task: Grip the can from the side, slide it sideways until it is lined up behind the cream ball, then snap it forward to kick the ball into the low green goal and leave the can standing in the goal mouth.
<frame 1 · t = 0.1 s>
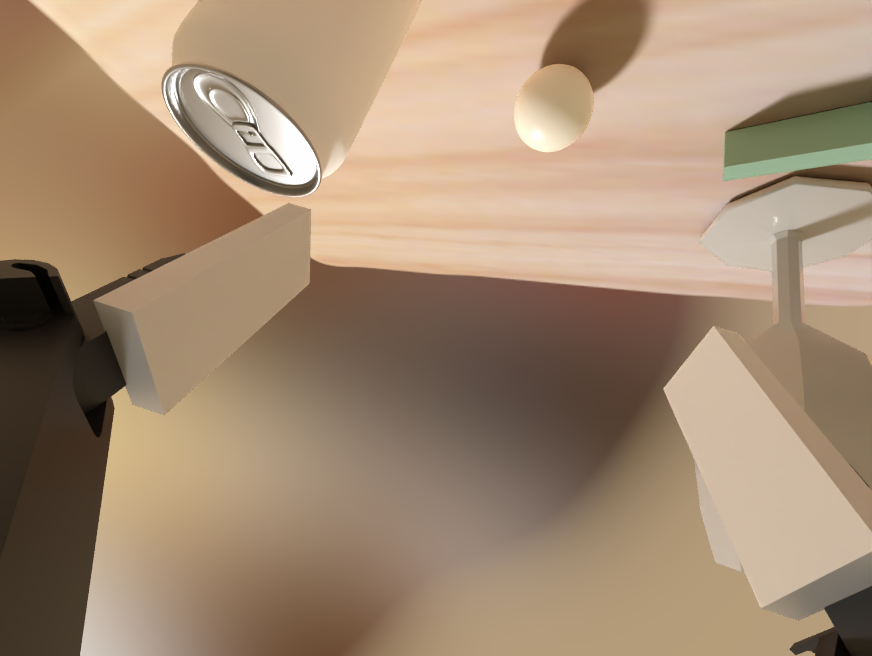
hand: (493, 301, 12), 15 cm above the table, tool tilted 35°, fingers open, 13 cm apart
wineglass: (785, 221, 24), on the table
ball: (552, 110, 20), point 2 cm above the table
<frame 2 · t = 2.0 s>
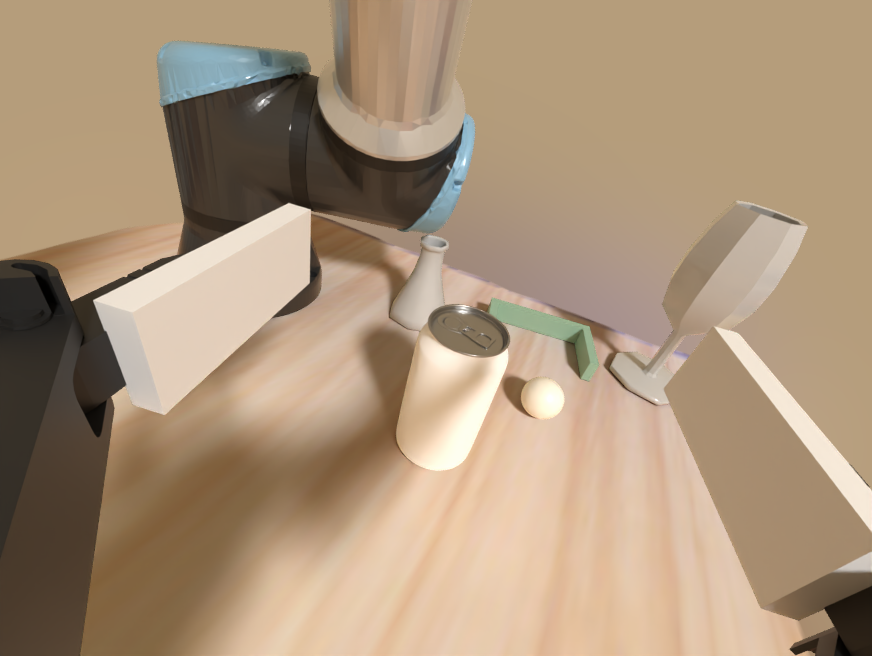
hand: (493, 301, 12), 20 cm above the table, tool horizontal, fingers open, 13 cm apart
goal: (533, 346, 46), on the table
wineglass: (643, 381, 45), on the table
ball: (542, 397, 36), point 2 cm above the table
can: (432, 440, 32), on the table
flask: (417, 317, 46), on the table
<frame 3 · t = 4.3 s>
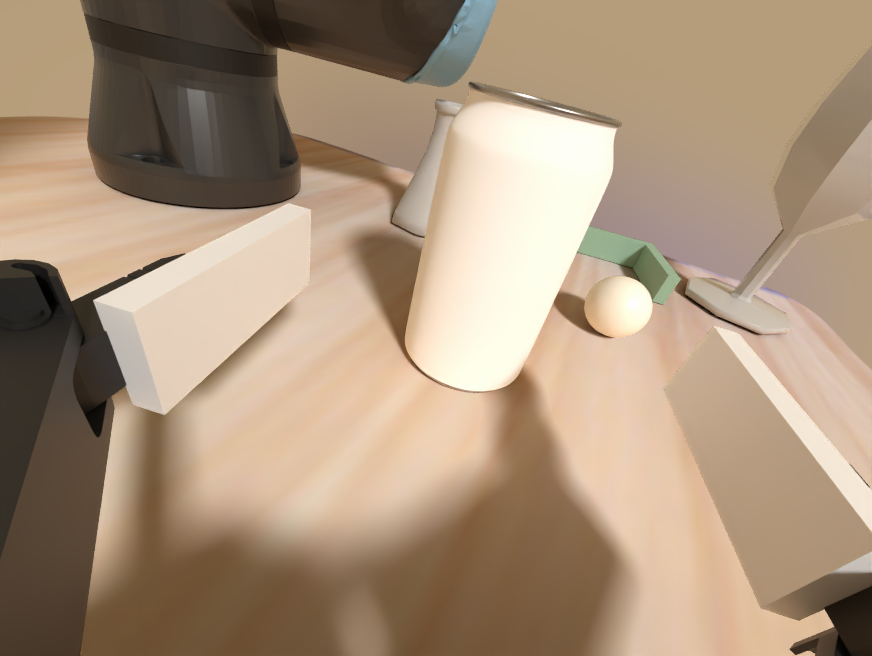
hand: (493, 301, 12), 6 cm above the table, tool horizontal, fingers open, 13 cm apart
goal: (583, 266, 35), on the table
wineglass: (729, 310, 34), on the table
ball: (617, 306, 24), point 2 cm above the table
can: (460, 355, 20), on the table
flask: (428, 228, 35), on the table
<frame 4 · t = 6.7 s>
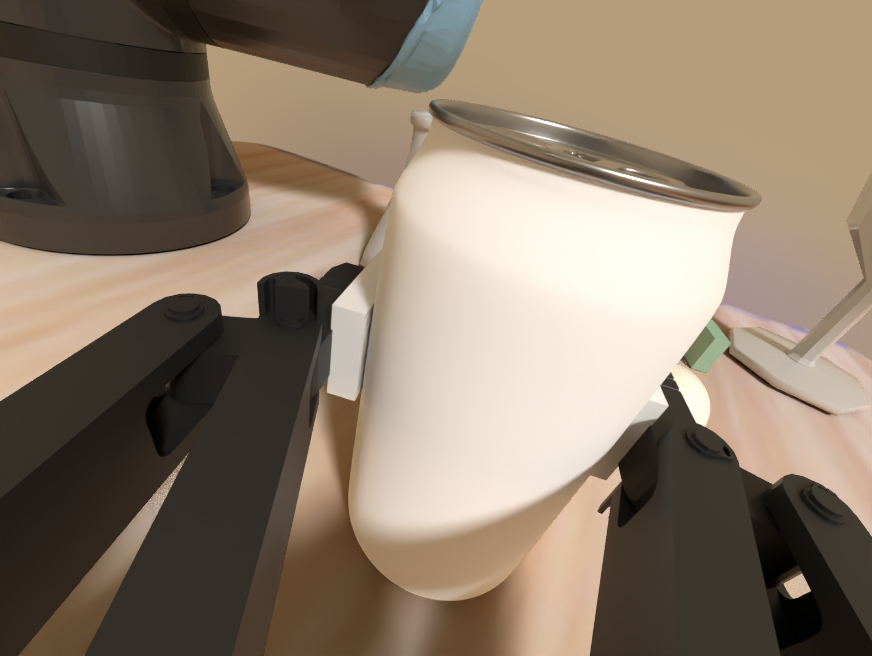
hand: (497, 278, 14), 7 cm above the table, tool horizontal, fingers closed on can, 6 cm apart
goal: (600, 317, 28), on the table
wineglass: (785, 373, 27), on the table
ball: (657, 402, 17), point 2 cm above the table
can: (437, 503, 14), on the table, touching gripper
flask: (408, 268, 28), on the table
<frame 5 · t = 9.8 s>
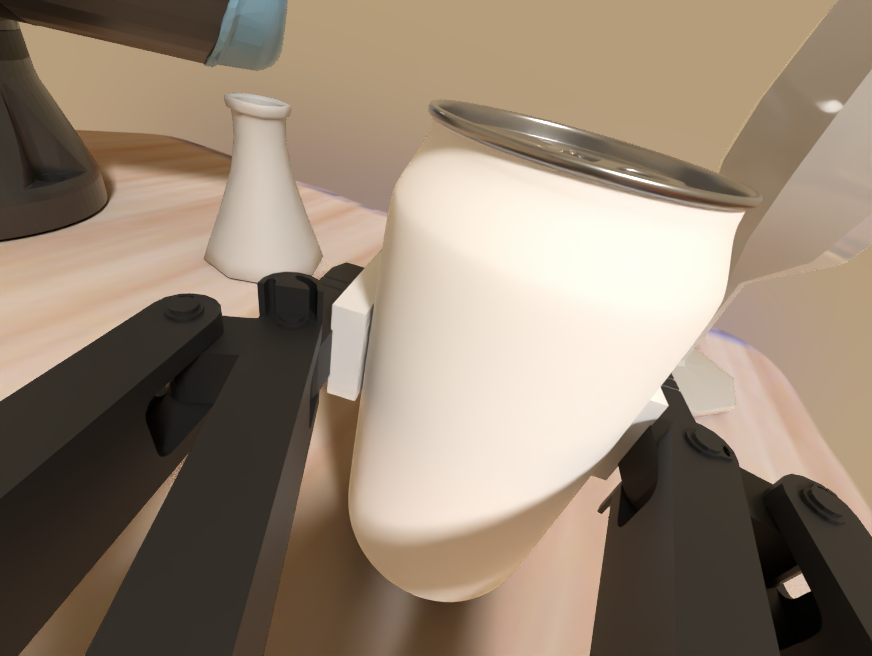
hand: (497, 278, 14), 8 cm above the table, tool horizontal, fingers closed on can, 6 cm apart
wineglass: (660, 372, 26), on the table
can: (437, 504, 13), point 1 cm above the table, touching gripper
flask: (267, 263, 27), on the table
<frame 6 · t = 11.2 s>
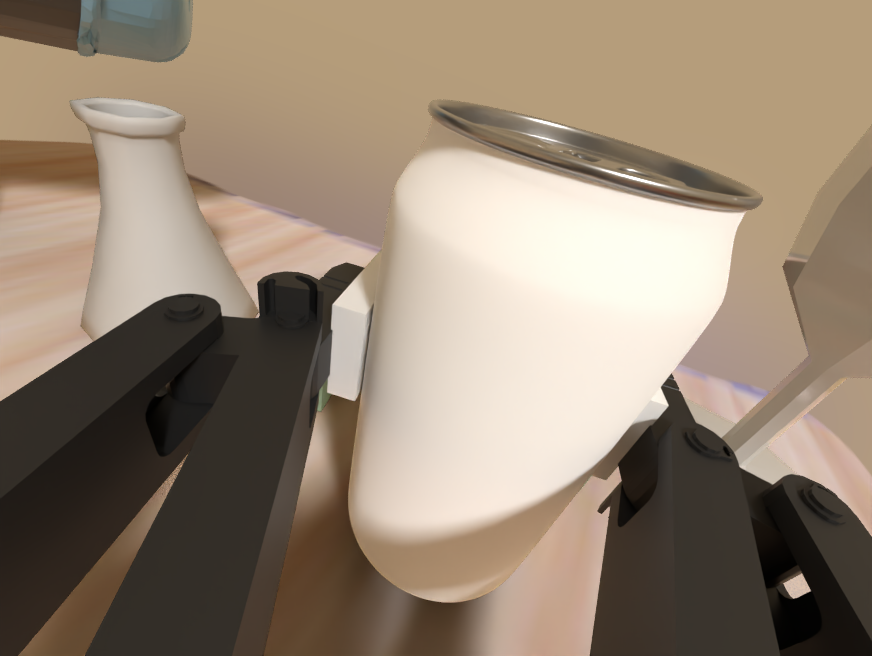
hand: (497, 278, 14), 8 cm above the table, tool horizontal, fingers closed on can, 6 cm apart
wineglass: (707, 474, 19), on the table
can: (437, 504, 13), point 1 cm above the table, touching gripper
flask: (179, 325, 20), on the table
when the fingers open (8 cm above the table, at t = 13.0 s): can moves 5 cm, on the table.
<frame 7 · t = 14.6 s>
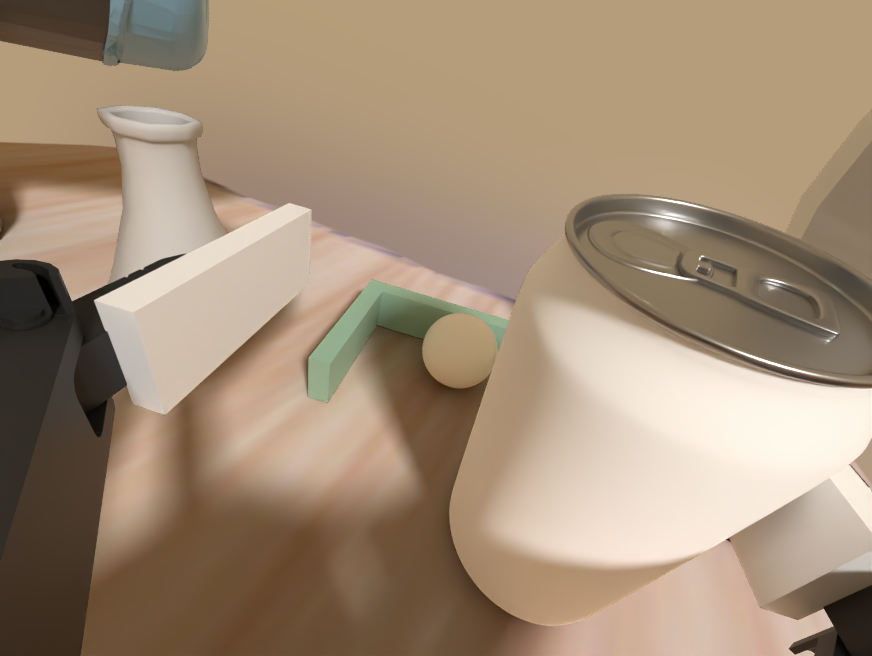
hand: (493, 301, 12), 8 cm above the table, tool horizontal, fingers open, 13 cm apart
goal: (451, 388, 20), on the table
wineglass: (700, 468, 20), on the table
ball: (459, 350, 20), point 2 cm above the table, tilted 26°
can: (527, 526, 15), on the table, touching gripper
flask: (193, 320, 21), on the table
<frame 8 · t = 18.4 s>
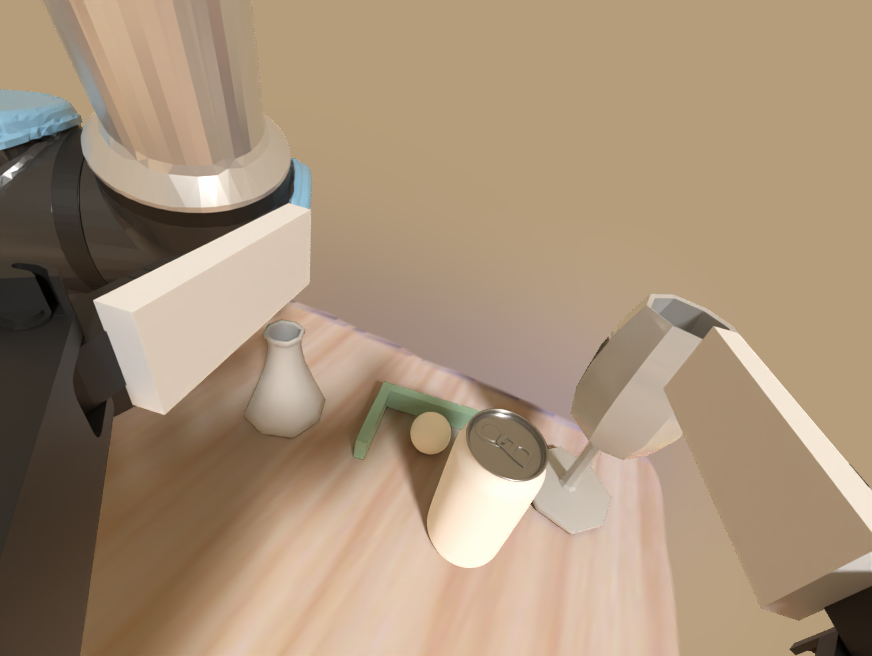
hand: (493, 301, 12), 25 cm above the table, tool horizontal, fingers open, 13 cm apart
goal: (428, 447, 37), on the table
wineglass: (562, 491, 37), on the table
ball: (430, 432, 36), point 2 cm above the table, tilted 44°
can: (462, 528, 32), on the table
flask: (286, 410, 38), on the table
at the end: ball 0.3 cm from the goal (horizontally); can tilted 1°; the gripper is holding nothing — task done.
